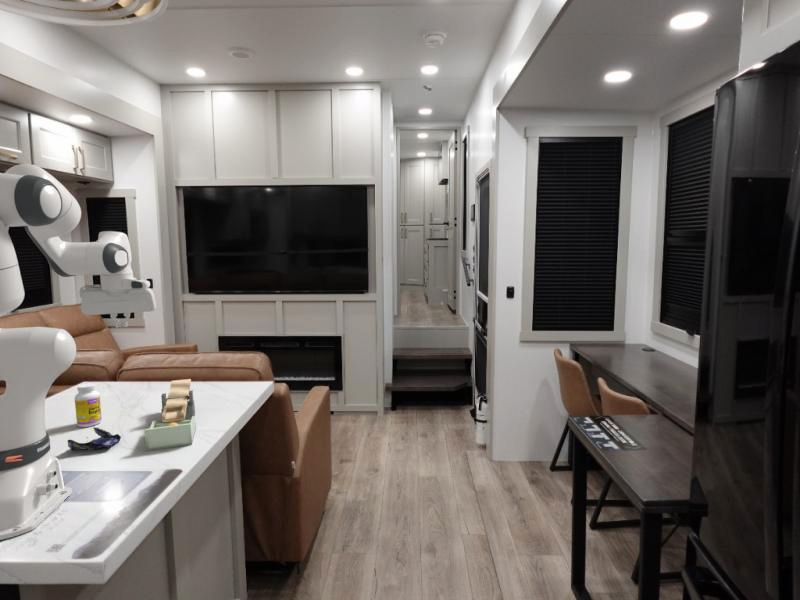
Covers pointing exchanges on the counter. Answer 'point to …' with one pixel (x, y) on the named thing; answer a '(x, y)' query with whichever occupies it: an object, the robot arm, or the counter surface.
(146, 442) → the dish
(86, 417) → the supplement bottle
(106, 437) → the snack package
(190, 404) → the fulcrum
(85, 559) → the counter surface
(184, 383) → the lever
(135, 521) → the counter surface
